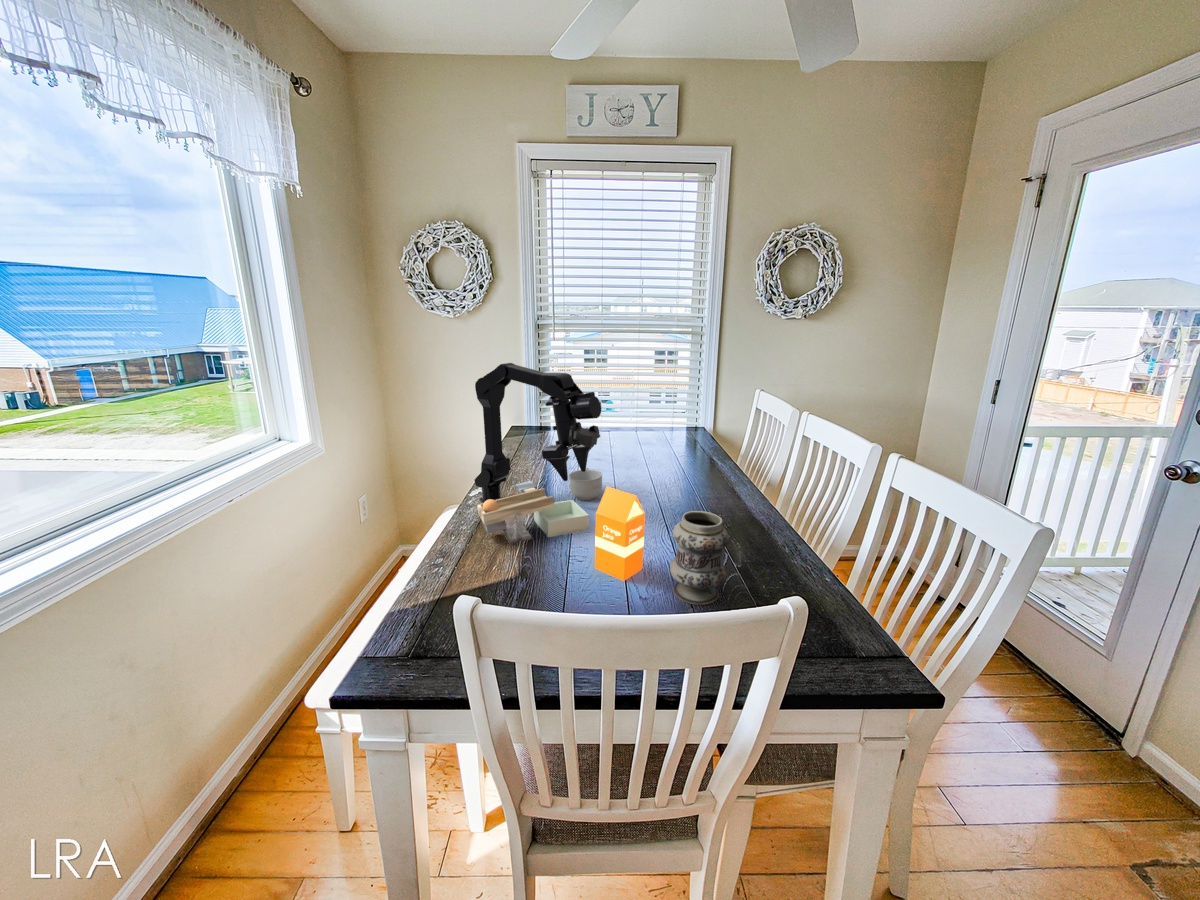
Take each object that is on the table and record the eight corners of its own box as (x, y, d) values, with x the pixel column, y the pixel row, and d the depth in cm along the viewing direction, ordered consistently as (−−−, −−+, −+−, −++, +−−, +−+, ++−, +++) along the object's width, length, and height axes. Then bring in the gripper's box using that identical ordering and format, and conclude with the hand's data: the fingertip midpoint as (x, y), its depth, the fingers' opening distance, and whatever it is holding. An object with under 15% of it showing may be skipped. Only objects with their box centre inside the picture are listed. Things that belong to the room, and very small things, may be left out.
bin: (534, 520, 144) (533, 505, 143) (572, 513, 149) (572, 499, 148) (548, 537, 134) (547, 522, 133) (588, 529, 139) (588, 515, 138)
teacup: (598, 504, 156) (598, 481, 154) (564, 501, 158) (564, 477, 156) (606, 489, 170) (606, 467, 167) (575, 486, 172) (575, 464, 169)
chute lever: (472, 510, 143) (469, 492, 141) (535, 495, 151) (532, 476, 149) (486, 535, 129) (483, 514, 127) (555, 516, 136) (552, 497, 134)
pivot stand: (499, 527, 139) (498, 502, 137) (520, 523, 142) (519, 499, 140) (509, 543, 130) (508, 516, 128) (531, 538, 133) (530, 513, 131)
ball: (482, 512, 132) (480, 499, 131) (496, 509, 134) (495, 495, 133) (485, 518, 129) (483, 504, 128) (500, 514, 131) (498, 500, 129)
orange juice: (614, 556, 125) (616, 482, 119) (642, 568, 120) (647, 491, 114) (594, 568, 119) (595, 490, 113) (623, 581, 114) (626, 500, 108)
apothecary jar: (715, 578, 116) (722, 507, 111) (730, 608, 105) (739, 530, 99) (664, 577, 116) (669, 506, 111) (673, 608, 104) (679, 530, 99)
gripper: (571, 425, 122) (581, 486, 125) (608, 412, 138) (616, 466, 140) (535, 428, 128) (546, 486, 130) (574, 415, 143) (583, 467, 146)
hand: (575, 476), depth 137 cm, fingers open, 9 cm apart
